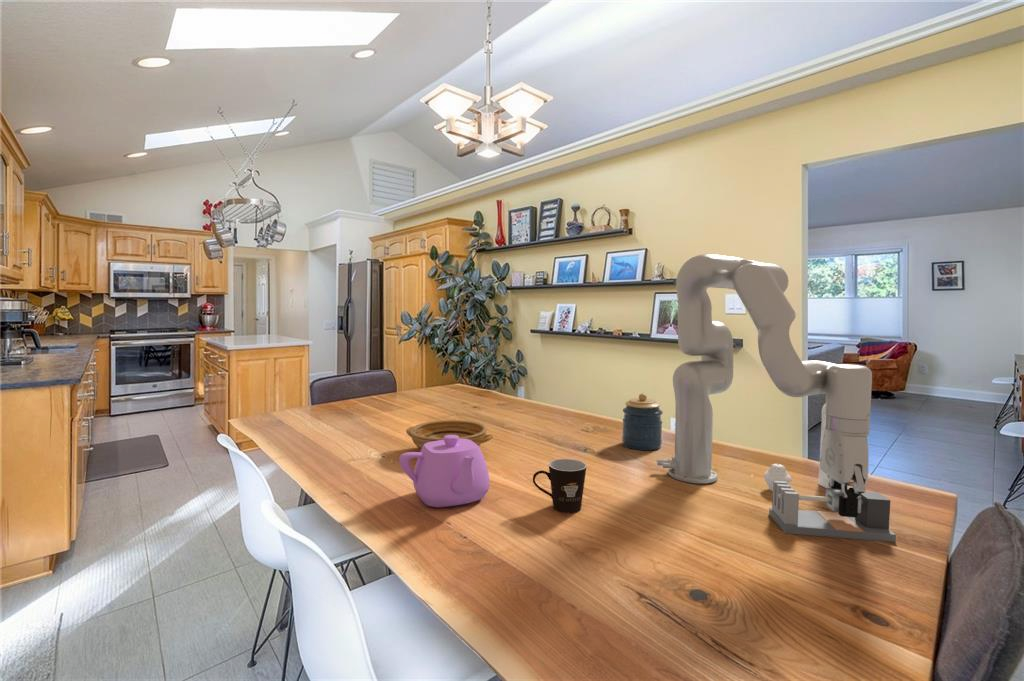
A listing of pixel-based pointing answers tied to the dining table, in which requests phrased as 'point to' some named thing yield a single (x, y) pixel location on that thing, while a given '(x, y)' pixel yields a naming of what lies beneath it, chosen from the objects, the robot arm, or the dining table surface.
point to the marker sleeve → (837, 499)
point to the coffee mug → (565, 484)
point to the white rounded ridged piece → (776, 475)
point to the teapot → (448, 472)
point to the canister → (642, 424)
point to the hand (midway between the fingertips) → (842, 510)
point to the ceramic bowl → (448, 431)
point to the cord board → (831, 516)
